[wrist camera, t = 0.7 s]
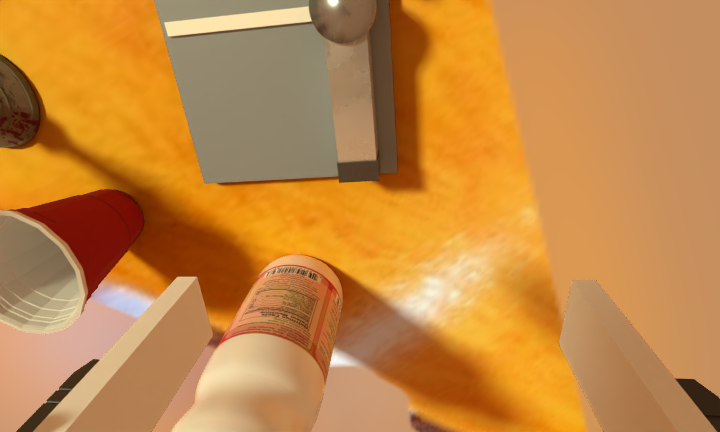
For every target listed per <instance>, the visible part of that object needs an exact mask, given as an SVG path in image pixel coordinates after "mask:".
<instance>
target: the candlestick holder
mask: <svg viewBox="0 0 720 432" xmlns="http://www.w3.org/2000/svg"><path fill="white" fill-rule="evenodd" d="M39 121H40V115H39V106H38V103H37V100H36V97H35V94H34V92H33V90H32V88H31V87H30V85H29V83H28V82H27V80H26V79H25V77H24V76H23V75H22V74H21V73H20V71H19V70H18V69H17V68H16V67H15V66H14V65H13V64H11V63H10V62H9V61H8V60H7V59H5V58H4V57H3V56H1V55H0V147H8V148H11V147H17V146H21V145H24V144H26V143H27V142H28V141H30V140H31V139H32V138H33V137H34V135H35V134H36V132H37V130H38V126H39Z"/></svg>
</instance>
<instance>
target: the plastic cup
mask: <svg viewBox="0 0 720 432" xmlns="http://www.w3.org/2000/svg"><path fill="white" fill-rule="evenodd" d="M143 225H144V218H143V213H142V211H141V209H140V208H139V206H138V204H137V203H136V202H135V201H134V200H133V199H132V198H130V197H129V196H128V195H127V194H124V193H122V192H120V191H118V190H111V189H105V190H98V191H94V192H91V193H88V194H84V195H77V196H73V197H69V198H65V199H61V200H58V201H54V202H50V203H46V204H42V205H38V206H34V207H31V208H22V209H17V210H0V322H2V323H4V324H6V325H9V326H11V327H13V328H15V329H18V330H20V331H22V332H31V333H38V334H50V333H53V332H57V331H61V330H65V329H67V328H68V327H69V326H70V325H71V324H72V323H73V322H74V321H75V320H76V319H77V318H78V317H79V316H80V315H81V314H82V312H83V311H84V306H85V304H86V301H87V300H88V299H89V298H90V297H91V294H92V293H93V292H94V291H95V290H96V289H97V288H98V285H99V284H100V283H101V281H102V280H103V279H104V278H105V277H106V276H107V274H108V273H109V272H110V271H111V270H112V269H113V267H114V266H115V265H116V264H117V263H118V261H119V260H120V259H121V258H122V257H123V256H124V254H125V253H126V252H127V251H128V249H129V247H130V246H131V244H132V243H133V242H134V241H135V240H136V239H137V237H138V236H139V235H140V233H141V231H142V229H143Z"/></svg>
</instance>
